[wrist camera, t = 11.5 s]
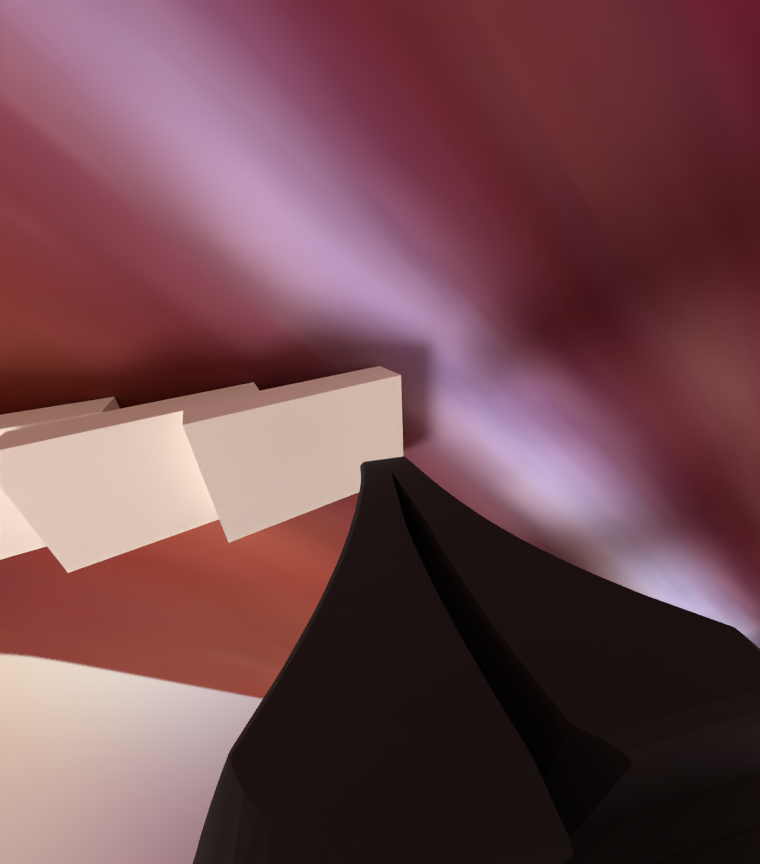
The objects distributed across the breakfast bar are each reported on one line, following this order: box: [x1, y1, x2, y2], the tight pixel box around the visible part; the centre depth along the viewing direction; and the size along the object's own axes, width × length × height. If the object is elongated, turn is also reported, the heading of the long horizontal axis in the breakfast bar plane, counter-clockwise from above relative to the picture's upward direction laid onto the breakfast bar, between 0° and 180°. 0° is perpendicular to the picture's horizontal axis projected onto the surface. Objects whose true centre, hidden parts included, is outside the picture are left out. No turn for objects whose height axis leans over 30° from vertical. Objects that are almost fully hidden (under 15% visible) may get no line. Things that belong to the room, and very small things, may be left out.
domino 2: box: [0, 382, 259, 573], centre depth 11 cm, size 4×2×7 cm
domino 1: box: [0, 397, 120, 560], centre depth 10 cm, size 4×2×7 cm
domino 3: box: [182, 366, 403, 542], centre depth 11 cm, size 4×2×7 cm
